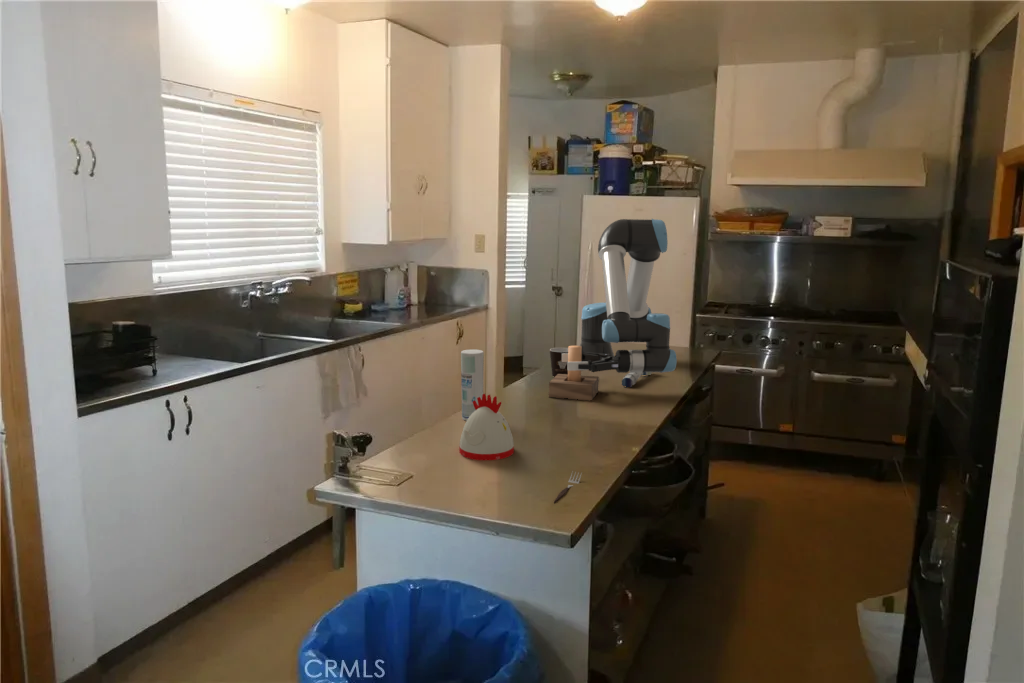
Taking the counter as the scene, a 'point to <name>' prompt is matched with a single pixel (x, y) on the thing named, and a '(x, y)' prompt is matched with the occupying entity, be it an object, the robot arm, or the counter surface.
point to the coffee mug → (558, 361)
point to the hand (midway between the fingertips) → (564, 361)
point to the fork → (568, 487)
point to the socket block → (573, 387)
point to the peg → (574, 356)
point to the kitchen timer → (486, 432)
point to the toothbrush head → (633, 378)
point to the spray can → (471, 380)
